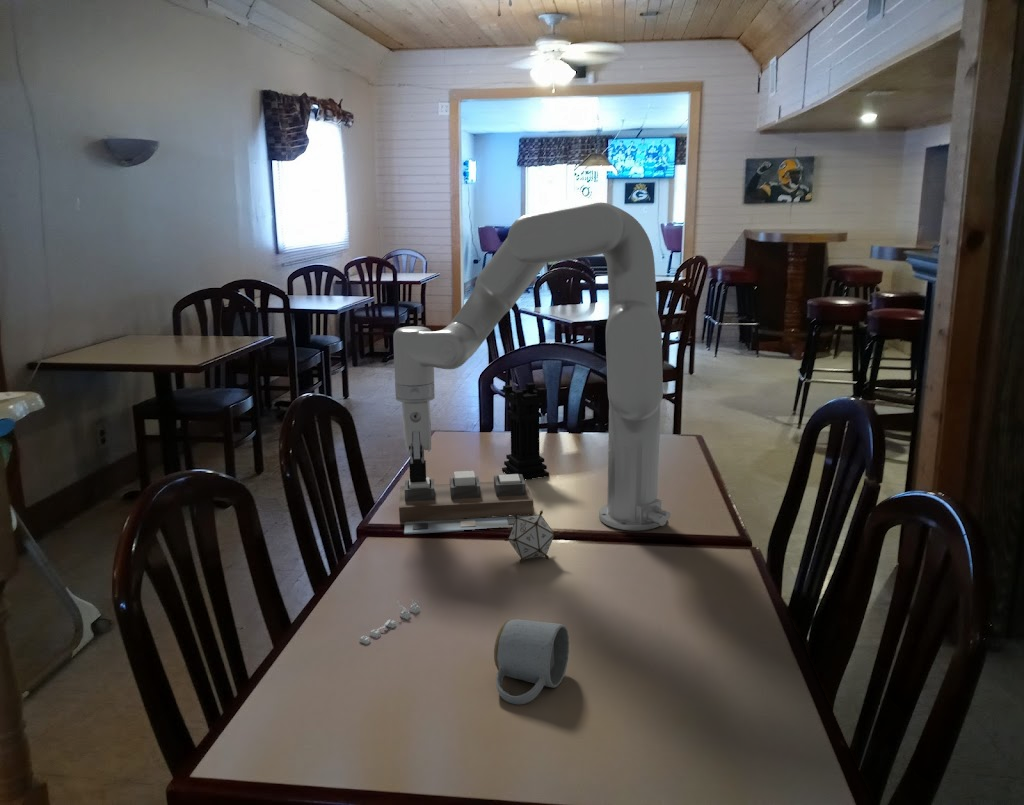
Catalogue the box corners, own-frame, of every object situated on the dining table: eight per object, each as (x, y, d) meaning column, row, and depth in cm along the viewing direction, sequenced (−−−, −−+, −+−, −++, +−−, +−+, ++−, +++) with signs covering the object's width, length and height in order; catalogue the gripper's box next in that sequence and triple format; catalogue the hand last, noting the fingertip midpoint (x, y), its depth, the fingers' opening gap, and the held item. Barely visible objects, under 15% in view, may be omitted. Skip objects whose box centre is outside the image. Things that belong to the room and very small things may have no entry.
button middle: (475, 488, 159) (475, 477, 159) (455, 489, 159) (454, 478, 158) (474, 481, 163) (473, 470, 162) (454, 482, 163) (454, 471, 162)
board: (537, 526, 152) (537, 499, 150) (398, 534, 149) (397, 507, 148) (525, 493, 169) (525, 469, 168) (401, 499, 166) (399, 475, 165)
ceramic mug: (512, 655, 109) (511, 604, 107) (570, 667, 106) (570, 614, 104) (481, 700, 100) (479, 645, 98) (543, 714, 97) (542, 658, 95)
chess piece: (501, 471, 184) (500, 385, 179) (533, 466, 187) (532, 382, 182) (516, 481, 177) (515, 393, 172) (549, 476, 180) (549, 389, 175)
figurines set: (368, 648, 112) (366, 629, 111) (353, 642, 114) (351, 624, 113) (424, 611, 122) (423, 594, 121) (410, 606, 123) (409, 589, 122)
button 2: (520, 491, 160) (520, 480, 160) (500, 492, 160) (500, 481, 159) (518, 485, 164) (518, 473, 164) (498, 486, 164) (498, 474, 163)
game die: (539, 581, 138) (552, 553, 131) (494, 561, 139) (504, 532, 131) (555, 540, 144) (569, 511, 136) (512, 522, 145) (522, 491, 137)
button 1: (430, 495, 158) (429, 483, 158) (409, 496, 158) (409, 484, 158) (429, 488, 162) (429, 477, 162) (409, 489, 162) (409, 478, 161)
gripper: (435, 399, 148) (437, 493, 153) (433, 382, 163) (436, 468, 167) (394, 400, 148) (398, 494, 152) (396, 383, 162) (400, 469, 166)
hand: (418, 480), depth 160 cm, fingers closed
